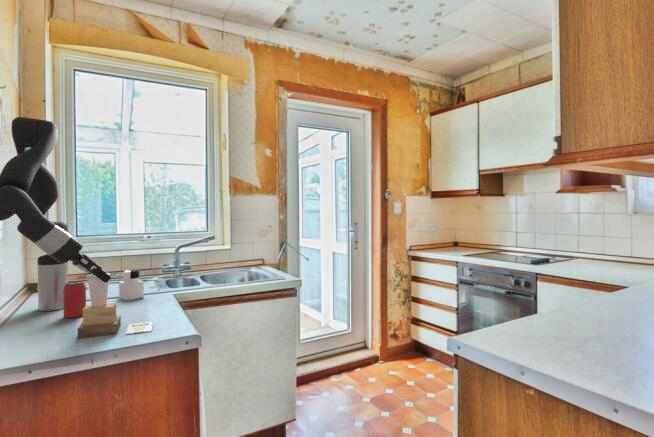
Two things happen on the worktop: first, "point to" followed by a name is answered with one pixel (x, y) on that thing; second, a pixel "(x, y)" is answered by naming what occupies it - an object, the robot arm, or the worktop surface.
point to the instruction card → (139, 328)
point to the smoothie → (97, 289)
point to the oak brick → (99, 314)
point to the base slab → (99, 329)
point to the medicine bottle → (131, 286)
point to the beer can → (74, 299)
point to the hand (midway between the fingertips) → (104, 278)
